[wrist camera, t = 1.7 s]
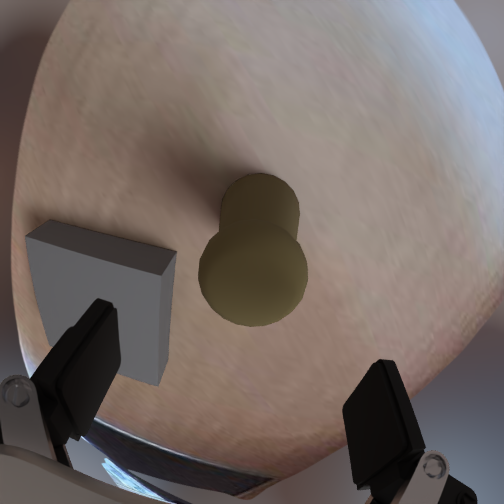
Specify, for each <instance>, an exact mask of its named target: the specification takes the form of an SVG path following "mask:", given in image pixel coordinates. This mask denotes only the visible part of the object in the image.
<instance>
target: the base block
mask: <svg viewBox="0 0 504 504" xmlns="http://www.w3.org/2000/svg"><path fill="white" fill-rule="evenodd" d="M25 240H26V247H27V254H28V260H29V266H30V271H31V276H32V281H33V286H34V291H35V295H36V299H37V304H38V307H39V311H40V315H41V319H42V322H43V326H44V329H45V333H46V336H47V339H48V342H49V345H50V346H52V347H54V345H55V344H56V343H57V341H58V340H59V339H60V338H61V336H62V335H63V334H64V332H65V331H66V330H67V329H68V328H69V327H71V326H74V325H75V324H76V323H77V321H78V320H79V319H80V318H81V316H82V315H83V314H84V313H85V312H86V310H87V309H88V308H89V307H90V305H91V304H92V303H93V302H94V301H95V300H96V299H97V298H100V299H103V300H106V301H109V302H112V303H113V306H114V308H117V313H118V329H119V341H120V351H121V365H120V368H119V370H118V372H117V373H118V374H120V375H123V376H126V377H129V378H132V379H135V380H138V381H141V382H145V383H148V384H151V385H154V386H159V383H160V381H161V378H162V375H163V372H164V370H165V367H166V364H167V362H168V351H169V333H170V318H171V305H172V293H173V282H174V272H175V263H176V254H177V252H176V251H172V250H168V249H163V248H159V247H155V246H151V245H147V244H143V243H139V242H135V241H131V240H127V239H123V238H119V237H115V236H111V235H107V234H103V233H99V232H95V231H91V230H87V229H83V228H79V227H76V226H72V225H68V224H64V223H60V222H56V221H53V220H49V221H47V222H46V223H44V224H42V225H41V226H39V227H38V228H36V229H35V230H33V231H32V232H30V233H29V234H27V235H26V236H25Z"/></svg>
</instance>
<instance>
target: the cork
mask: <svg viewBox="0 0 504 504" xmlns="http://www.w3.org/2000/svg"><path fill="white" fill-rule="evenodd" d="M299 216H300V211H299V202H298V199H297V197H296V195H295V193H294V191H293V190H292V189H291V188H290V187H289V185H288V184H287V183H286V182H284V181H283V180H281V179H279V178H277V177H275V176H273V175H268V174H262V173H260V174H251V175H247V176H245V177H243V178H241V179H238V180H237V181H236V182H235V183H234V184H232V185H231V186H230V187H229V188H228V190H227V192H226V194H225V196H224V197H223V200H222V206H221V214H220V224H219V232H218V233H217V234H216V235H214V236H213V237H212V238H211V239H210V240H209V242H208V244H207V246H206V248H205V250H204V252H203V254H202V256H201V258H200V262H199V272H198V280H199V284H200V288H201V292H202V295H203V296H204V298H205V299H206V301H207V302H208V304H209V305H210V307H211V308H212V309H213V310H214V311H215V312H216V313H218V314H219V315H220V316H221V317H222V318H224V319H226V320H228V321H230V322H233V323H235V324H238V325H244V326H249V327H254V326H266V325H269V324H272V323H275V322H278V321H279V320H281V319H282V318H284V317H285V316H287V315H288V314H290V313H291V312H292V311H293V310H294V309H295V308H296V306H297V305H298V304H299V302H300V301H301V300H302V298H303V295H304V292H305V288H306V285H307V282H308V268H307V261H306V258H305V255H304V253H303V251H302V249H301V246H300V244H299V243H298V242H297V241H296V240H297V232H298V224H299Z"/></svg>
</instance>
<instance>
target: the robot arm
mask: <svg viewBox="0 0 504 504" xmlns="http://www.w3.org/2000/svg"><path fill="white" fill-rule="evenodd" d="M120 365H121V351H120V341H119V329H118V313H117V308H114V306H113V303H112V302H109V301H106V300H103V299H100V298H97V299H96V300H95V301H94V302H93V303H92V304H91V305H90V307H89V308H88V309H87V310H86V312H85V313H84V314H83V315H82V316H81V318H80V319H79V320H78V321H77V323H76V324H75V325H74V326H71V327H69V328H68V329H67V330H66V331H65V332H64V334H63V335H62V336H61V338H60V339H59V340H58V341H57V343H56V344H55V345H54V347H53V348H52V349H51V351H50V352H49V353H48V355H47V356H46V357H45V359H44V360H43V361H42V363H41V364H40V365H39V367H38V368H37V369H36V371H35V372H34V374H33V375H32V376H31V378H30V379H29V378H27V377H26V376H22V375H12V376H9V377H7V378H5V379H4V380H3V381H2V382H1V384H0V504H170V503H166V502H163V501H159V500H155V499H152V498H148V497H145V496H142V495H139V494H136V493H133V492H130V491H127V490H124V489H121V488H118V487H116V486H113V485H110V484H107V483H105V482H102V481H100V480H97V479H95V478H92V477H90V476H88V475H85V474H83V473H81V472H79V471H76V470H74V469H73V467H72V464H71V461H70V458H69V455H68V452H67V449H66V446H65V444H66V443H67V441H68V439H69V437H70V438H72V439H75V440H77V441H79V439H80V437H81V436H85V435H86V434H87V432H88V430H89V428H90V426H91V424H92V422H93V420H94V417H95V415H96V413H97V411H98V409H99V407H100V405H101V403H102V401H103V399H104V397H105V395H106V393H107V391H108V389H109V387H110V385H111V383H112V381H113V379H114V377H115V375H116V373H117V372H118V370H119V368H120ZM342 413H343V419H344V424H345V430H346V437H347V443H348V449H349V456H350V462H351V469H352V476H353V482H354V483H355V484H357V490H366V489H370V490H371V495H370V496H369V498H368V500H367V501H366V503H365V504H477V496H476V494H475V493H474V491H473V490H472V489H471V488H469V487H468V486H466V485H464V484H463V483H461V482H460V481H458V480H456V479H455V478H453V477H452V476H450V475H449V463H448V461H447V459H446V457H445V456H444V455H443V454H441V453H440V452H438V451H433V450H431V451H427V452H426V453H425V452H424V449H425V448H426V447H425V444H424V440H423V437H422V435H421V431H420V428H419V425H418V422H417V419H416V417H415V414H414V411H413V408H412V405H411V403H410V400H409V397H408V394H407V392H406V389H405V387H404V384H403V381H402V379H401V376H400V374H399V371H398V369H397V366H396V364H395V362H394V361H393V360H384V359H379V360H378V361H377V362H376V363H373V364H372V365H371V367H370V368H369V370H368V371H367V373H366V374H365V376H364V377H363V379H362V380H361V381H360V383H359V384H358V386H357V387H356V389H355V390H354V391H353V393H352V394H351V395H350V397H349V398H348V399H347V401H346V402H345V404H344V405H343V409H342Z"/></svg>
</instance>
